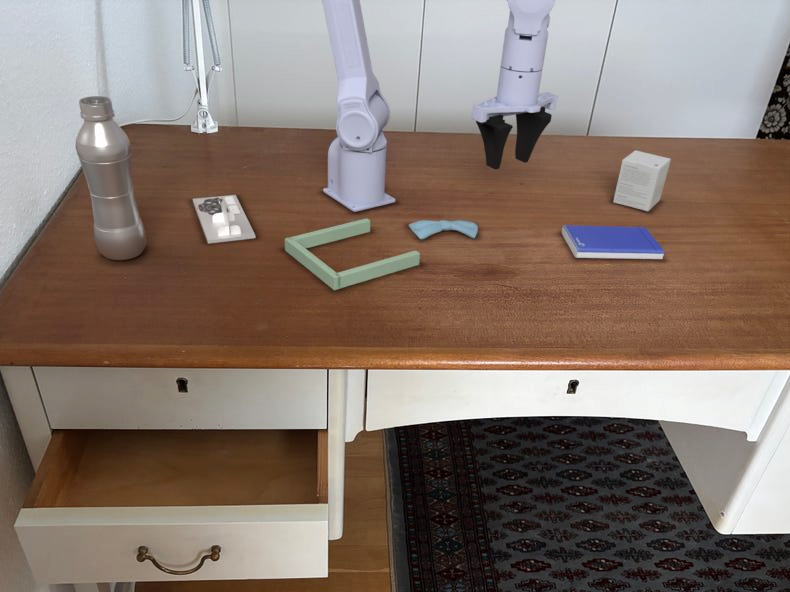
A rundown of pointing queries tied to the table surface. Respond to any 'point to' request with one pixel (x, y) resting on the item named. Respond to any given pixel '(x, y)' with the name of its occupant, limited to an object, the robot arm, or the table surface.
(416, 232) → the bow tie
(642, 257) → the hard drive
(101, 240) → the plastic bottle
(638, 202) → the product box
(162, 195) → the table surface
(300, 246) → the bay
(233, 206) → the grey board with parts
